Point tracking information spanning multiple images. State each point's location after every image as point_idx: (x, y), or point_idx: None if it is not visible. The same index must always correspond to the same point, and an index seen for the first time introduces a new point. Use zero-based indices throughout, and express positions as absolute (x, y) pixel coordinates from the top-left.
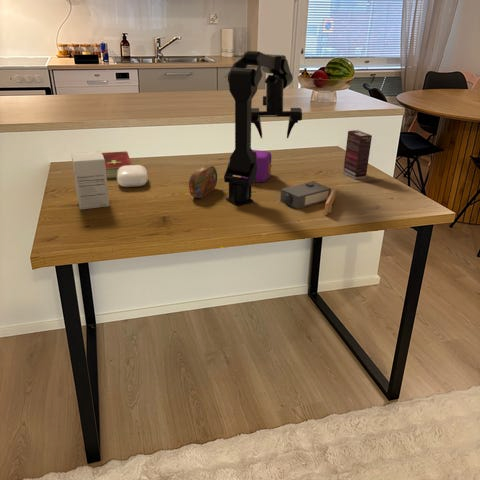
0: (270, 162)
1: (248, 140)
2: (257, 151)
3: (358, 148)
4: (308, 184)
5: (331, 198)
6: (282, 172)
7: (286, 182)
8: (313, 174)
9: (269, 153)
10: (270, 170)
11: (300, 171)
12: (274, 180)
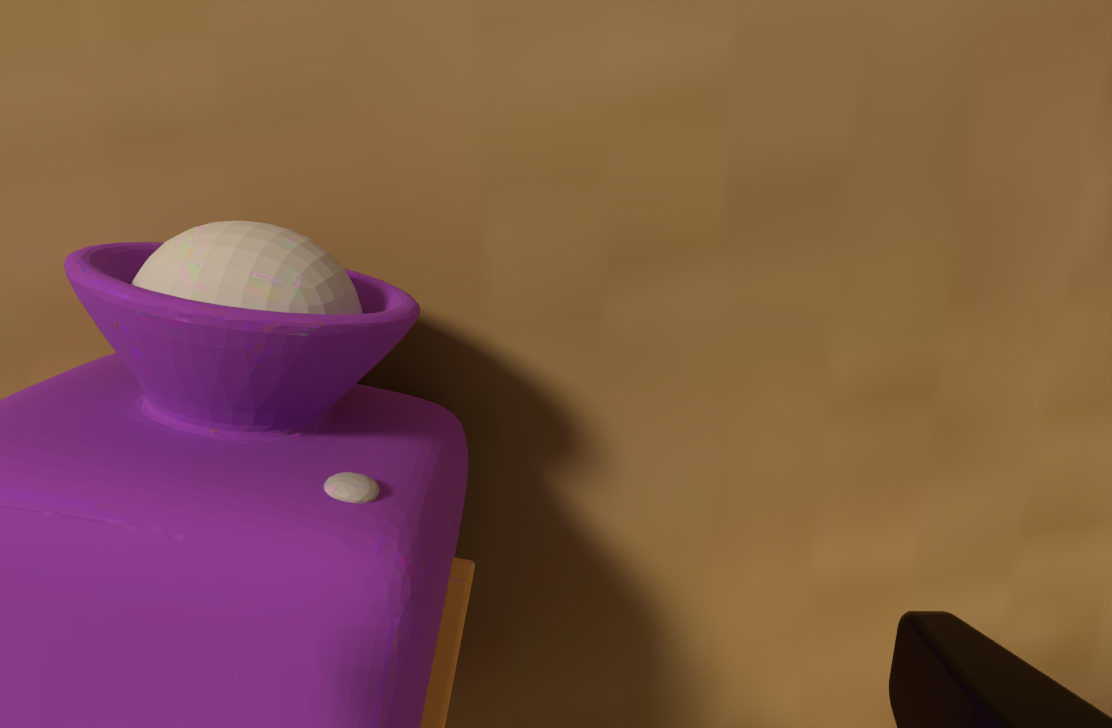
0: (443, 606)
1: None
2: (102, 682)
3: None
4: None
5: None
6: (643, 202)
7: (690, 610)
8: (1101, 225)
9: (387, 692)
10: (463, 505)
11: (925, 106)
12: (536, 562)
